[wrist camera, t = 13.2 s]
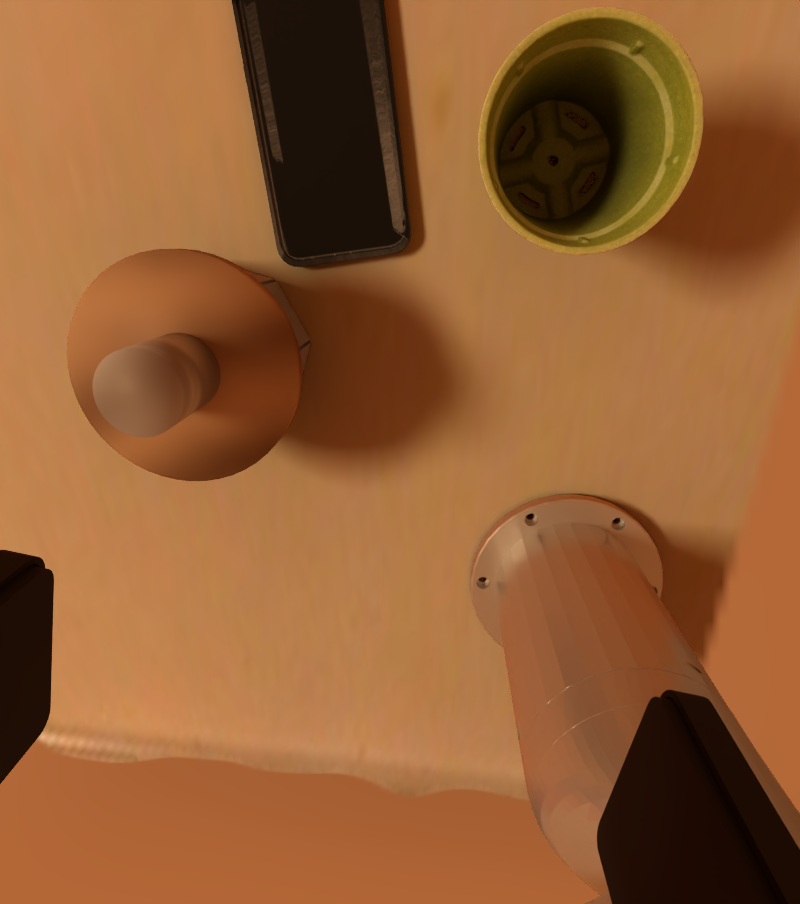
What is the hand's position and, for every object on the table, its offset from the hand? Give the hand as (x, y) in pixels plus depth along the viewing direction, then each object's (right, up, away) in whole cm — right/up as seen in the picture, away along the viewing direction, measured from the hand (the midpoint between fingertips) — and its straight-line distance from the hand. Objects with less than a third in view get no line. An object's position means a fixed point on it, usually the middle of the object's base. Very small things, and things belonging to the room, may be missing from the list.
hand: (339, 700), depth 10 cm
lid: (-10, +8, +23) cm, 27 cm away
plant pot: (+9, +20, +25) cm, 33 cm away
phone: (-3, +22, +25) cm, 34 cm away
